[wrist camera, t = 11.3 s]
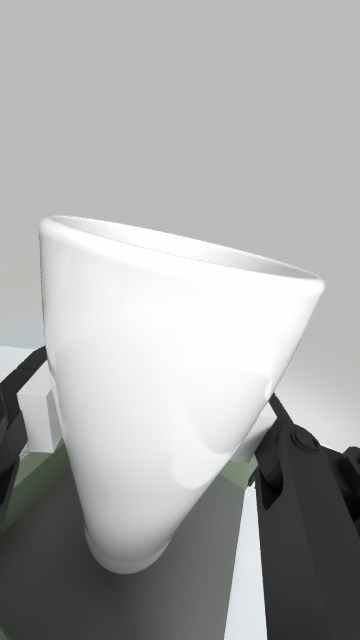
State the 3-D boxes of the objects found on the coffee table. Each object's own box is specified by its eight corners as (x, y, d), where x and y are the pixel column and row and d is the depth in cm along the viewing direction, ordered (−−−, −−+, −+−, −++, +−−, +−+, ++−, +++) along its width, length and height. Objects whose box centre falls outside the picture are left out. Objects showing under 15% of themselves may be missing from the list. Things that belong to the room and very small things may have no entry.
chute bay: (-72, 588, 9) (-103, 562, 8) (121, 402, 20) (124, 376, 19) (165, 1005, 5) (200, 1136, 3) (244, 480, 16) (260, 455, 14)
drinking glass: (143, 662, 8) (442, 346, 1) (38, 532, 10) (-53, 193, 4) (204, 485, 13) (312, 268, 7) (128, 430, 16) (156, 229, 9)
